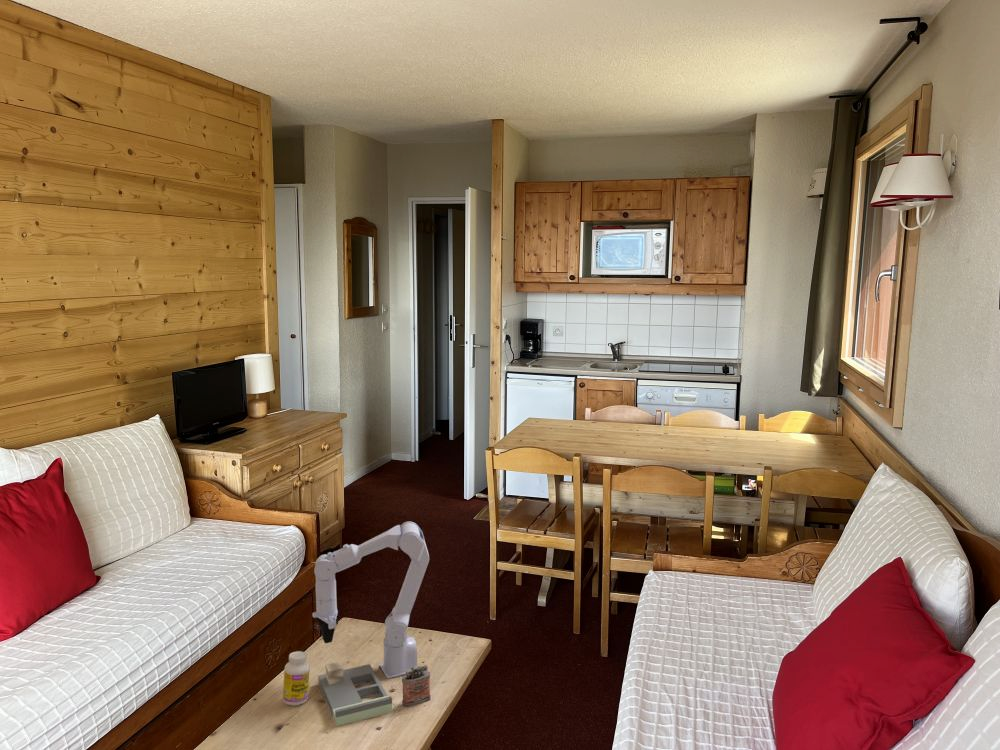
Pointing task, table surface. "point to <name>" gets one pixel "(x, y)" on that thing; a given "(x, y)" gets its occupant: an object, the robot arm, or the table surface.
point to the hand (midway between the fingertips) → (327, 641)
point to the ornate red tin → (416, 686)
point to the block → (334, 673)
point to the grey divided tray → (355, 696)
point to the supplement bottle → (296, 679)
